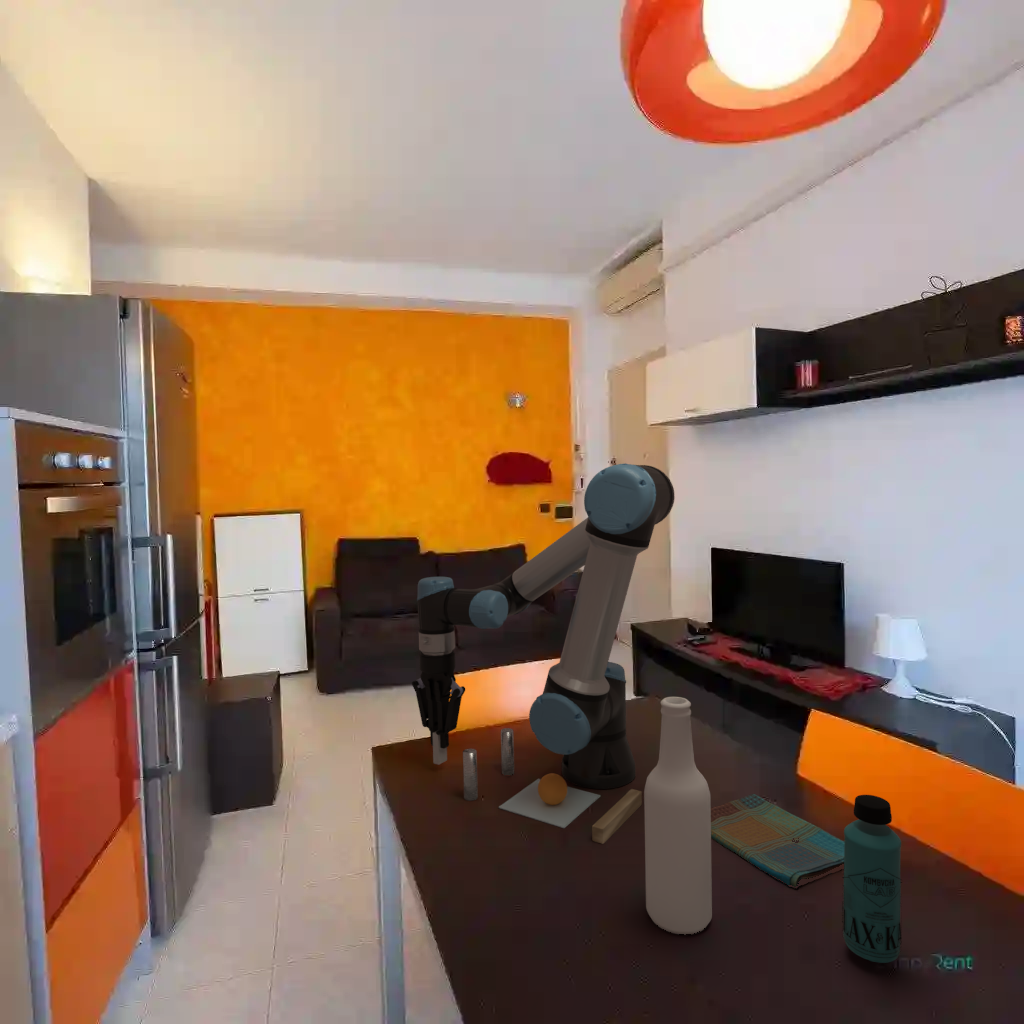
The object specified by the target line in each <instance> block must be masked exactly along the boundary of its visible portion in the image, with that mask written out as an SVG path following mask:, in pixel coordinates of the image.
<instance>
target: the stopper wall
mask: <svg viewBox="0 0 1024 1024" xmlns="http://www.w3.org/2000/svg"><path fill="white" fill-rule="evenodd" d="M642 793H643V792H642V791H641V790H637V789H633V788H631V789H630V790H628V791H627V792H626V794H624V795H623V797H621V798H620V799H619V800H618V801H617V802H616V803H615V804H614V805H613V806H611V808H610V809H608V810H607V811H606V812H605V813H604V814H603V815H602V816H601V817H600V818H599V819H597V821H595V823H594V824H593V825H592V826H591V833H592V834H591V835H592V837H591V838H592V839H591V840H592V842H595V843H597V844H598V843H599V844H602V845H604V844H605V843H606V842H607V841H608V840H610V838H611V837H612V836H613V835H614V834H615V833H616V832H617V831H618V830H619V828H620V827H622V826H623V825H624V824H625V823H626V821H628V820H629V819H630V817H631V816H632V815H634V814H635V813H636V811H637V810H638V809H639V808H640V807H641V806H642V805H643V798H642V797H643V796H642V795H643V794H642Z"/></svg>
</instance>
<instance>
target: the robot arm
mask: <svg viewBox="0 0 1024 1024" xmlns="http://www.w3.org/2000/svg"><path fill="white" fill-rule="evenodd" d="M674 489H675V488H674V485H673V483H672V481H671V479H670V478H669V476H668V475H667V474H666V473H665V472H663V471H662V470H661V469H660V468H657V467H655V466H652V465H647V464H631V463H626V462H625V463H618V464H614V465H610V466H608V467H605V468H604V469H601V470H600V471H598V473H596V474H595V475H594V476H593V477H592V478H591V480H590V481H589V483H588V484H587V486H586V489H585V492H584V496H583V497H584V499H583V500H584V503H583V504H584V510H585V513H586V515H587V517H586V518H585V519H583V520H582V521H581V522H580V523H578V524H577V525H575V526H574V527H573V528H572V529H570V530H569V531H568V532H566V533H564V534H563V535H562V536H561V537H559V538H558V539H556V540H555V541H554V542H553V543H551V544H550V545H548V546H547V547H545V548H544V549H543V550H542V551H540V552H539V553H537V555H535V556H533V557H532V558H531V559H529V560H528V561H527V562H525V563H524V564H522V565H521V566H519V568H516V570H515V571H514V572H512V573H511V574H510V575H508V576H506V577H505V578H504V579H503V580H501V581H499V582H496V583H493V584H489V585H487V586H484V587H479V588H474V589H471V588H470V589H468V588H458V587H455V585H454V580H453V578H452V577H447V576H430V577H429V576H428V577H424V578H421V579H420V580H419V581H418V582H417V583H418V584H417V598H416V602H417V603H416V604H417V615H418V616H417V617H418V649H419V651H420V653H419V655H418V657H419V658H418V659H419V661H418V663H419V670H420V671H421V672H420V677H419V678H418V679H415V680H413V681H412V682H411V685H412V688H413V689H414V691H415V694H416V696H415V697H416V699H417V700H416V701H417V705H418V706H417V707H418V710H419V715H420V720H421V725H422V727H424V728H427V729H428V730H429V731H430V745H431V746H432V751H433V752H432V760H433V764H435V765H441V764H442V763H445V762H446V761H448V747H449V745H450V738H449V737H450V735H449V734H450V732H452V731H454V730H456V729H457V727H458V726H457V725H458V720H459V715H460V710H461V709H460V708H461V703H462V698H463V696H464V694H465V692H466V687H465V686H464V685H463V686H460V685H459V684H458V683H457V682H456V680H457V679H456V677H455V674H454V673H455V670H456V669H455V668H456V652H455V651H454V650H455V648H456V639H455V638H456V637H455V635H456V634H455V626H459V627H469V628H478V629H482V630H487V629H499V628H500V627H502V626H503V624H504V622H506V621H507V618H508V617H511V616H513V615H514V616H515V615H518V614H520V613H522V612H523V611H525V610H526V609H528V608H529V607H530V605H531V604H532V602H534V601H535V600H536V599H538V598H539V597H541V596H542V595H544V594H545V593H547V592H548V591H550V590H551V589H552V588H554V587H555V586H557V585H559V584H560V583H561V582H563V581H564V580H565V579H567V578H568V577H570V576H572V575H573V574H575V572H577V571H578V570H580V569H581V568H582V567H583V569H582V575H581V578H580V582H579V586H578V590H577V594H576V598H575V601H574V605H573V608H572V612H571V616H570V621H569V623H568V628H567V632H566V636H565V640H564V643H563V647H562V652H561V654H560V660H559V662H558V663H556V664H554V665H552V666H551V667H549V670H548V673H547V677H546V680H545V683H544V687H543V691H542V694H540V695H539V696H537V697H536V699H535V700H534V701H532V702H533V703H532V704H531V706H530V709H529V713H528V719H529V725H530V729H531V731H532V733H534V735H535V738H536V739H537V741H538V742H539V743H540V744H541V745H542V747H544V748H546V749H547V750H548V751H550V752H552V753H554V754H558V755H562V758H561V759H562V760H561V774H562V778H563V779H564V780H565V781H567V782H569V783H571V784H573V785H576V786H579V787H583V788H587V789H594V790H595V789H597V790H598V789H599V790H600V789H601V790H604V789H605V790H606V789H608V790H609V789H615V788H619V787H623V786H626V785H627V784H630V783H632V782H633V780H634V779H636V776H637V775H636V773H637V772H636V761H635V759H634V756H633V753H632V749H631V747H630V743H629V742H628V738H627V707H626V705H627V703H626V701H627V699H626V697H627V696H626V694H627V691H626V683H627V680H626V673H625V668H624V667H623V666H622V665H621V664H620V663H615V662H613V661H611V662H610V657H611V653H612V649H613V646H614V642H615V638H616V634H617V631H618V627H619V624H620V619H621V617H622V612H623V609H624V605H625V601H626V597H627V594H628V590H629V587H630V583H631V580H632V576H633V572H634V569H635V568H634V567H635V564H636V561H637V558H638V555H639V554H640V553H642V552H644V551H646V550H648V549H649V547H650V544H651V543H650V542H651V539H652V535H653V533H654V528H655V525H658V524H660V523H661V522H663V520H665V518H667V517H668V515H669V514H670V513H671V511H672V509H673V506H674V503H675V498H676V497H675V490H674Z"/></svg>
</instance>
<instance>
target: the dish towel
mask: <svg viewBox="0 0 1024 1024" xmlns="http://www.w3.org/2000/svg"><path fill="white" fill-rule="evenodd" d="M793 838H794V840H795V842H796V840H797V841H798V840H799V842H798V843H795V842H792V840H793ZM798 838H799V839H798ZM711 840H713V841H715V842H716V843H718V844H719V845H721V846H722V845H723V847H724V848H725V849H727V848H728V849H727V850H729V849H730V850H731V852H732V851H733V852H735V853H736V854H735V853H734V854H735V855H737V854H738V855H739V856H741V857H742V858H744V859H746V860H747V861H749V862H751V863H752V864H754V865H755V866H757V867H759V868H760V869H761V870H763V871H765V872H767V873H768V874H770V875H772V876H774V877H776V878H777V879H780V880H781V881H783V882H784V883H786V884H787V885H792V886H794V887H796V886H798V885H797V884H799V883H798V882H799V881H800V880H801V879H807V878H808V879H809V878H813V877H816V876H819V875H821V874H824V873H826V872H828V871H830V870H832V869H834V868H836V867H839V866H840V865H842V864H844V842H845V840H842V839H840V838H838V837H837V836H835V835H833V834H831V833H830V832H829V831H826V830H824V829H822V828H821V827H819V826H817V825H815V824H813V823H810V822H808V820H807V821H806V820H805V819H803V818H801V817H798V816H797V815H795V814H792V813H790V812H788V811H787V810H785V809H783V808H781V807H780V806H778V805H776V804H773V803H771V801H770V802H769V801H767V800H766V799H764V798H762V797H761V796H759V795H757V794H755V793H751V794H749V795H747V796H743V797H740V798H738V799H735V800H731V801H729V802H726V803H723V804H719V805H715V806H713V807H711ZM794 840H793V841H794ZM730 850H729V851H730ZM733 852H732V853H733ZM738 855H737V856H738ZM739 856H738V857H739ZM741 857H740V858H741ZM742 858H741V859H742ZM744 859H743V860H744ZM747 861H746V862H747ZM749 862H748V863H749ZM752 864H751V865H752ZM755 866H754V867H755ZM760 869H759V870H760ZM761 870H760V871H761ZM763 871H762V872H763ZM765 872H764V873H765ZM768 874H767V875H768ZM770 875H769V876H770ZM784 883H783V884H784ZM787 885H786V886H787Z"/></svg>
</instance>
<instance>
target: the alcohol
mask: <svg viewBox="0 0 1024 1024" xmlns="http://www.w3.org/2000/svg"><path fill="white" fill-rule="evenodd" d="M660 705H661V708H660V713H661V721H660V723H661V724H660V739H659V752H658V753H659V755H658V761H657V764H656V765H655V766H654V768H653V769H652V770H651V771H650V772H649V774H648V775H647V777H646V781H645V785H644V789H643V790H644V791H643V793H644V794H643V795H644V797H643V799H644V800H643V802H644V807H643V808H644V850H645V851H644V853H645V854H644V856H645V857H644V858H645V909H646V911H647V914H648V915H649V917H650V918H651V920H652V922H653V923H654V924H655V925H656V926H657V925H658V928H660V929H662V930H663V929H664V930H663V931H665V930H666V932H668V933H670V932H671V934H674V935H679V934H684V936H687V935H686V934H691V935H695V934H698V933H700V932H702V931H704V930H705V929H706V928H707V926H708V925H709V924H710V923H711V920H712V918H713V909H712V908H713V896H712V895H713V893H712V892H713V890H712V887H713V886H712V885H713V884H712V882H713V881H712V877H713V876H712V839H711V808H712V807H711V804H712V803H711V800H712V799H711V791H710V788H709V784H708V781H707V780H706V778H705V777H704V775H703V774H702V773H701V772H700V771H699V769H698V768H697V766H696V762H695V756H694V746H693V745H694V744H693V736H692V735H693V734H692V733H693V732H692V724H691V723H692V722H691V715H692V710H691V708H690V707H691V706H692V703H691V701H689V699H687V698H685V697H681V696H667V697H664V698H663V699H662V700H660ZM704 928H705V929H704ZM699 931H700V932H699ZM697 932H698V933H697ZM694 933H695V934H694Z"/></svg>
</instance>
